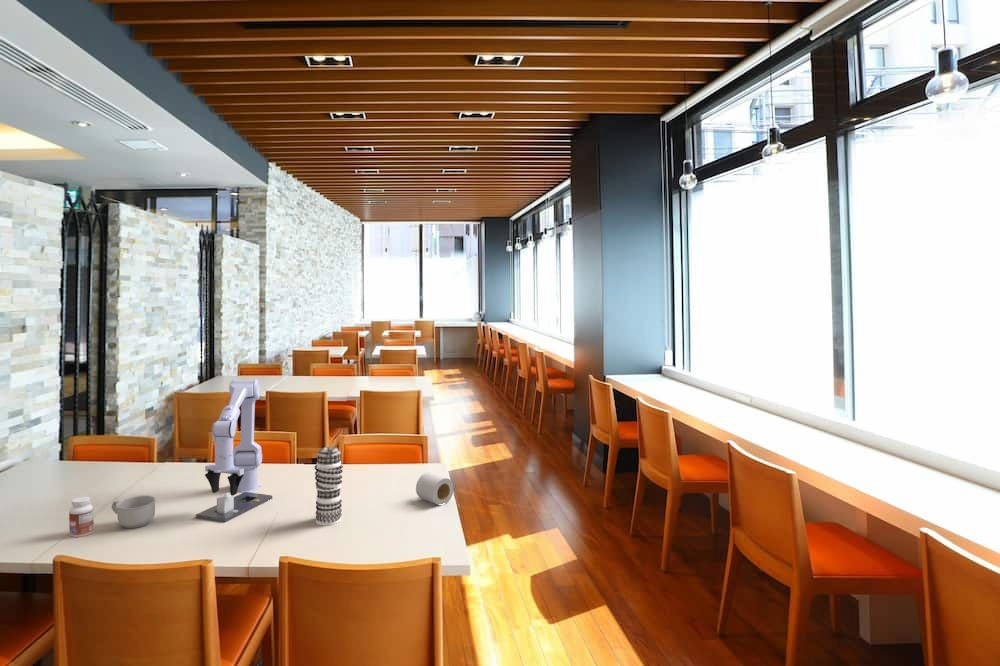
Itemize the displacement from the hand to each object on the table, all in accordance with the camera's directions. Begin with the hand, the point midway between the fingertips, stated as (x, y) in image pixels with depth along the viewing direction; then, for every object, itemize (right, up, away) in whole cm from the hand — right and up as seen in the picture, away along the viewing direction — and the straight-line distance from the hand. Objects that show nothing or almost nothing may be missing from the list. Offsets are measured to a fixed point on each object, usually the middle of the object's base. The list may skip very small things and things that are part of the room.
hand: (224, 493), depth 198 cm
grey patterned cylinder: (+37, -9, -3) cm, 38 cm away
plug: (0, -7, +1) cm, 7 cm away
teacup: (-26, -8, -10) cm, 29 cm away
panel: (+1, -7, +6) cm, 9 cm away
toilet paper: (+71, -8, +17) cm, 74 cm away
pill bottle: (-36, -8, -18) cm, 41 cm away
